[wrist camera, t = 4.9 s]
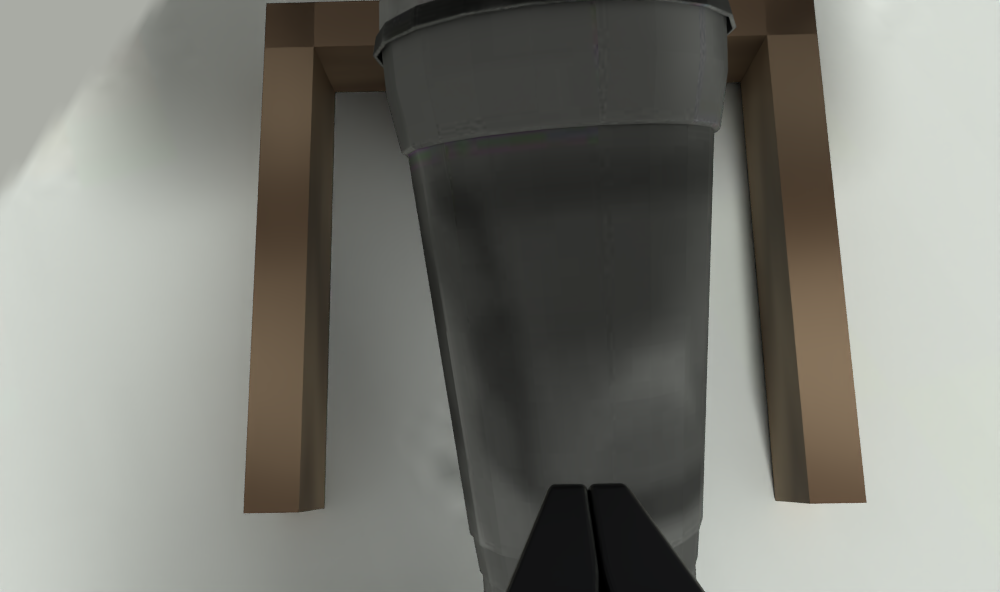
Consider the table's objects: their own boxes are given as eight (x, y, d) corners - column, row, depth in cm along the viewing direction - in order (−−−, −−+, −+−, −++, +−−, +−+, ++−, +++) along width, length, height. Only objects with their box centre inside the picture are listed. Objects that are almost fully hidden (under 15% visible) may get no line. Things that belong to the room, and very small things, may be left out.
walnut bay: (824, 499, 21) (866, 502, 18) (275, 509, 21) (243, 513, 18) (781, 40, 23) (812, -11, 21) (292, 52, 23) (266, 3, 21)
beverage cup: (795, 685, 14) (731, -621, 12) (373, 676, 15) (268, -510, 14) (745, 528, 21) (700, -314, 20) (460, 531, 22) (397, -259, 21)
